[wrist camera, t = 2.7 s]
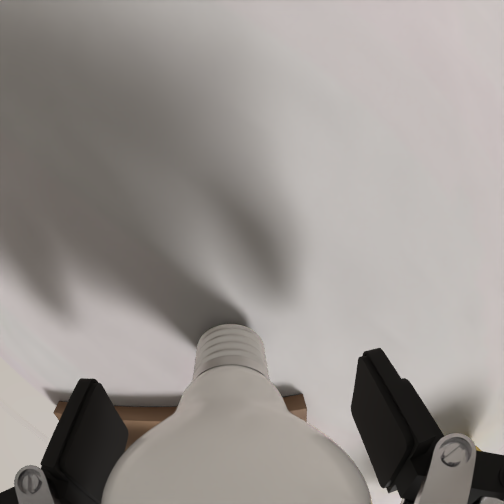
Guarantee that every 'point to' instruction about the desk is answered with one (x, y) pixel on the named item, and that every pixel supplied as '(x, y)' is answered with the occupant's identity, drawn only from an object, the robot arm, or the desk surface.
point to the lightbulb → (234, 441)
